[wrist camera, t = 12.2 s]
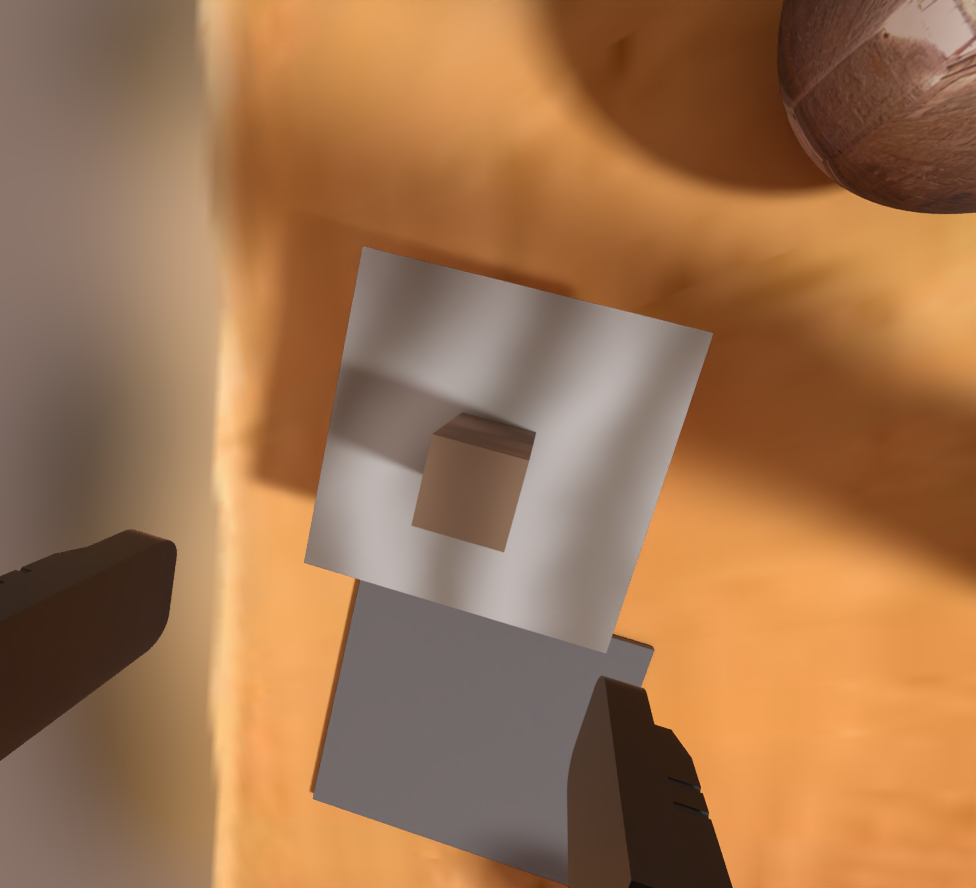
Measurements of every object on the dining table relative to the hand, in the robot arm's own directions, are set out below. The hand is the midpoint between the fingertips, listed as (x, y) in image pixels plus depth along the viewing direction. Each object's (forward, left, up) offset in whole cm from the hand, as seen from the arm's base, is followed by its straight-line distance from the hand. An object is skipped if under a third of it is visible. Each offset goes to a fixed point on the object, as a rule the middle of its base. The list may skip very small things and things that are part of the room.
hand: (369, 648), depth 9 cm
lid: (0, 0, -17) cm, 17 cm away
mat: (-3, +20, -23) cm, 30 cm away
